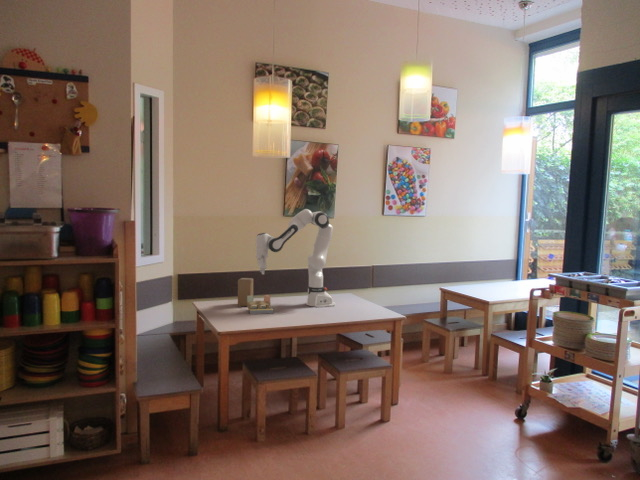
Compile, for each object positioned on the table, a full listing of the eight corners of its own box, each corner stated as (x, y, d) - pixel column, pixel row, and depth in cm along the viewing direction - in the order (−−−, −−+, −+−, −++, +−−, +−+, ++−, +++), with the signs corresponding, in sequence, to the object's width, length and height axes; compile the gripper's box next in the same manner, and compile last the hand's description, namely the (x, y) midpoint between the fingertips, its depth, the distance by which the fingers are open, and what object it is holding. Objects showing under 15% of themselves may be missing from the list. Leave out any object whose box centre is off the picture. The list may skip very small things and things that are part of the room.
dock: (270, 309, 358) (270, 305, 358) (273, 313, 346) (273, 309, 346) (248, 310, 354) (248, 305, 354) (250, 314, 343) (250, 309, 342)
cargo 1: (252, 301, 350) (252, 295, 350) (253, 302, 347) (253, 296, 346) (247, 301, 349) (247, 295, 349) (247, 302, 346) (247, 296, 345)
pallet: (269, 307, 354) (269, 300, 354) (270, 308, 349) (270, 301, 348) (247, 307, 351) (247, 300, 350) (247, 309, 345) (247, 302, 345)
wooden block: (253, 303, 375) (253, 278, 373) (250, 306, 365) (250, 280, 363) (240, 303, 376) (241, 277, 374) (237, 306, 366) (237, 279, 364)
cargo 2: (269, 300, 353) (269, 295, 353) (270, 301, 349) (270, 296, 349) (263, 300, 352) (264, 295, 352) (264, 301, 349) (264, 296, 348)
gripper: (268, 256, 353) (268, 275, 354) (264, 253, 372) (264, 271, 374) (259, 256, 351) (259, 275, 353) (256, 253, 371) (256, 271, 372)
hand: (262, 273), depth 363 cm, fingers open, 8 cm apart
